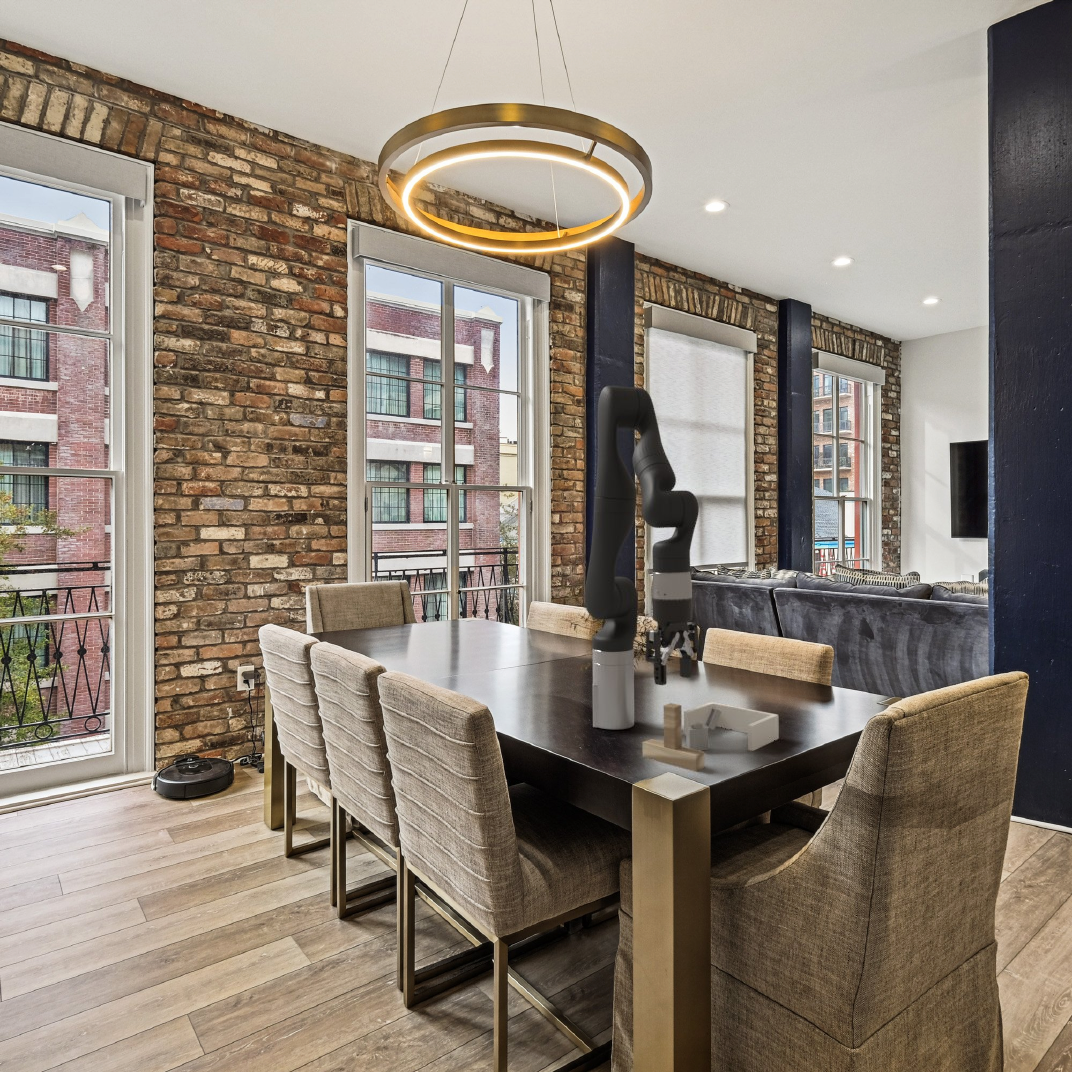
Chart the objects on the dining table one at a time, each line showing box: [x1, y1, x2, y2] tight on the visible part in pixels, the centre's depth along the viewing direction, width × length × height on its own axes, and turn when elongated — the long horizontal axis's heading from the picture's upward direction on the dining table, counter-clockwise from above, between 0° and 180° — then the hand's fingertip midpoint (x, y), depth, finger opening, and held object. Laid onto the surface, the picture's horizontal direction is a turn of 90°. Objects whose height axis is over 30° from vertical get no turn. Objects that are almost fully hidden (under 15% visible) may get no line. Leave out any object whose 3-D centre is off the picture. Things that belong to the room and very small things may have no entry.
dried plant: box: [557, 577, 678, 671], centre depth 213 cm, size 30×31×45 cm
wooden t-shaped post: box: [642, 702, 706, 772], centre depth 139 cm, size 3×12×11 cm, turn 45°
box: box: [683, 701, 780, 752], centre depth 155 cm, size 11×16×5 cm
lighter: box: [685, 707, 721, 751], centre depth 147 cm, size 7×2×8 cm, turn 106°
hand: (673, 680), depth 139 cm, fingers open, 8 cm apart
